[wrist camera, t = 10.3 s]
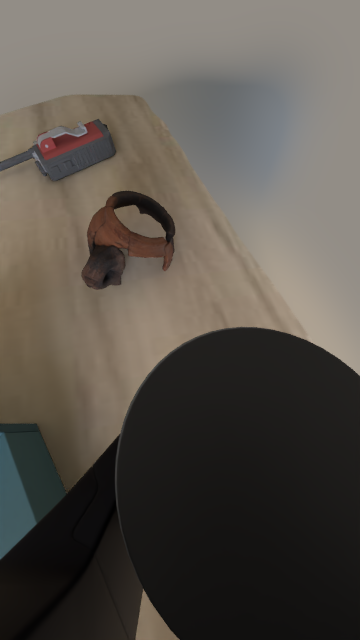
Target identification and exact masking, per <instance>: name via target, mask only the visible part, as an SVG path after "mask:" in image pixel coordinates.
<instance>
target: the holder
mask: <svg viewBox="0 0 360 640" xmlns="http://www.w3.org/2000/svg"><path fill="white" fill-rule="evenodd" d="M115 491H116V505H117V511H118V517H119V523H120V528H121V532H122V535H123V539H124V542H125V546H126V549H127V553H128V555H129V558H130V560H131V563H132V565H133V568H134V570H135V573H136V575H137V577H138V579H139V581H140V583H141V585H142V587H143V589H144V590H145V592H146V594H147V596H148V598H149V600H150V601H151V603H152V604H153V606H154V607H155V609H156V610H157V612H158V613H159V614H160V616H161V617H162V619H163V620H164V621H165V623H166V624H167V626H168V627H169V628H170V630H171V631H172V632H173V633H174V634H175V635H176V636H177V637H178V638H179V639H180V640H360V376H359V375H358V374H357V373H356V372H355V371H354V370H353V369H351V368H350V367H349V366H347V365H346V364H345V363H344V362H342V361H341V360H340V359H338V358H337V357H335V356H334V355H332V354H330V353H329V352H327V351H326V350H324V349H323V348H321V347H319V346H317V345H315V344H313V343H311V342H309V341H307V340H304V339H301V338H299V337H296V336H293V335H291V334H287V333H283V332H279V331H275V330H271V329H264V328H257V327H236V328H226V329H221V330H216V331H212V332H209V333H206V334H203V335H200V336H197V337H195V338H193V339H191V340H189V341H187V342H185V343H183V344H182V345H180V346H179V347H177V348H176V349H174V350H173V351H172V352H170V353H169V354H168V355H167V356H166V357H164V358H163V359H162V360H161V361H160V362H159V363H158V364H157V365H156V366H155V367H154V368H153V370H152V371H151V372H150V373H149V374H148V376H147V377H146V378H145V380H144V381H143V383H142V384H141V386H140V387H139V389H138V391H137V392H136V394H135V396H134V398H133V400H132V402H131V404H130V406H129V409H128V411H127V414H126V416H125V419H124V422H123V426H122V430H121V433H120V437H119V442H118V449H117V455H116V467H115Z"/></svg>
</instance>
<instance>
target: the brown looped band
mask: <svg viewBox="0 0 360 640" xmlns="http://www.w3.org/2000/svg"><path fill="white" fill-rule="evenodd" d="M130 205H136V206H137V207H138V209H139V211H140V213H141V214H148V215H150V216H152V217H153V218H154V219H155V220H156V221H157V222H159V223H161V225H162V227H163V229H164V230H165V232H166V240H165V239H164V237H158V238H148V237H145V236H141V235H139V234H137V233H134V232H132V231H130V230H129V229H128V228H126V227H125V226H124V225H123V224H122V223H121V222H120V221H119V219H118V218H117V217H116V215H115V212H114V209H117V208H120V207H124V206H130ZM174 235H175V226H174V222H173V219H172V218H171V216H170V215H169V214H168V213H167V211H166V210H165V209H164V207H162V206H161V205H160V204H159V203H158V202H156V201H155V200H153V199H152V198H150V197H148V196H146V195H142V194H141V193H137V192H133V191H120V192H117V193H114V194H113V195H112V196H110V197H109V198H108V200H107V202H106V206H105V207H103V208H101V209H100V210H99V211H98V212H97V213H96V214H95V215H94V216H93V218H92V220H91V222H90V225H89V228H88V232H87V237H88V246H89V251H90V257H89V259H88V262H87V264H86V265H85V267H84V268H83V270H82V278H83V280H84V281H85V283H86V284H87V286H88V287H92V288H94V289H103V288H106V287H107V286H109V285H120V284H121V275H122V273H123V270H124V268H125V257H124V254H123V252H122V251H121V250H119V249H120V248H125V249H128V255H129V256H135V257H144V258H148V257H154V258H155V257H156V258H158V257H163V256H164V265H163V270H164V271H166V270H167V269H168V267H169V266H170V263H171V261H172V257H173V253H174V241H173V236H174Z"/></svg>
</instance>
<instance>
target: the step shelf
mask: <svg viewBox="0 0 360 640" xmlns="http://www.w3.org/2000/svg"><path fill="white" fill-rule="evenodd" d="M65 495H66V491H65V489H64V487H63V484H62V482H61V480H60V477H59V475H58V473H57V471H56V468H55V466H54V464H53V461H52V459H51V457H50V454H49V452H48V450H47V447H46V445H45V443H44V440H43V438H42V436H41V433H40V432H39V429H38V426H37V424H0V559H1V558H2V557H3V556H4V555H6V554H7V553H8V552H9V551H10V550H11V549H12V548H13V547H14V546H15V545H16V544H17V543H18V542H19V541H20V540H21V539H22V538H23V537H24V536H25V535H26V534H27V533H28V532H29V531H30V530H31V529H32V528H33V527H34V526H35V525H36V524H37V523H38V522H39V521H40V520H41V519H42V518H43V517H44V516H45V515H46V514H47V513H48V512H49V511H50V510H51V509H52V508H53V507H54V506H55V505H56V504H57V503H58V502H59V501H60V500H61V499H62V498H63V497H64V496H65Z"/></svg>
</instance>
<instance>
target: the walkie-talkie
mask: <svg viewBox="0 0 360 640" xmlns="http://www.w3.org/2000/svg"><path fill="white" fill-rule="evenodd" d="M77 124H78V125H79V127H77V128H74V129H70V128H67V127H64V126H59V127H57V128H54V129H52V130H50V131H49V132H44V133H42V134H40V135H38V137H37V140H36V141H34V142H33V143H34V146H33V148H30V149H28V151H26V152H24V153H21V154H19V155H16V156H14V157H12V158H9V159H7V160H4V161H2V162H0V171H2V170H5V169H7V168H10V167H12V166H14V165H17V164H19V163H22V162H24V161H26V160H29V159H31V158H35V159H36V160H37V161H35V163H36V165H37V166H38V168H39V170H40V171H41V173H42V174H43V176H47V174H46V173H48V175H49V176H50V178H51V179H52V181H56V180H59V179H61V178H63V177H66V176H68V175H70V174H72V173H75V172H77V171H79V170H82V169H84V168H86V167H88V166H91V165H93V164H95V163H97V162H100V161H102V160H104V159H106V158H109V157H111V156H113V155H114V154H115V152H116V150H115V147H114V144H113V141H112V137H111V134H110V132H109V130H108V128H107V125H106V124H102V122H101V121H100V120H99V119H97V120H94V121H92V122H89V123H87V124H84V125H83V124H82V122H81V121H79V122H78V123H77Z"/></svg>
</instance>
